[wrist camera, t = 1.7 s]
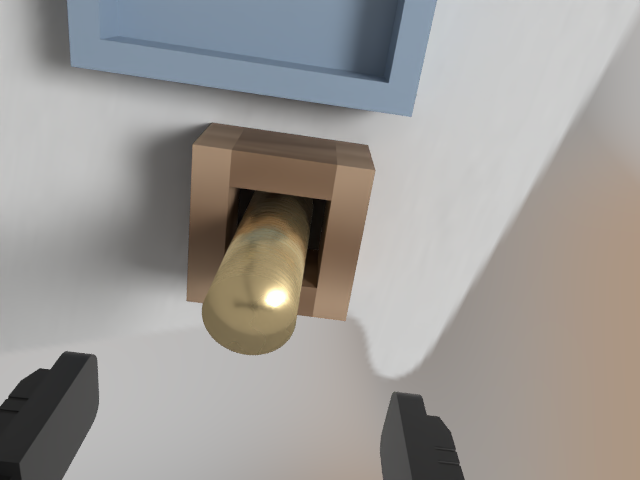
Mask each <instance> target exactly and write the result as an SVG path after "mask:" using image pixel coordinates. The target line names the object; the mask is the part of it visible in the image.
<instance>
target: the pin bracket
mask: <svg viewBox="0 0 640 480" xmlns="http://www.w3.org/2000/svg"><path fill="white" fill-rule="evenodd" d="M374 174H375V167H374V164H373V161H372V157H371V154H370V150H369V147H368V145H363V144H356V143H349V142H342V141H335V140H328V139H321V138H314V137H307V136H301V135H294V134H287V133H280V132H273V131H266V130H259V129H252V128H245V127H238V126H231V125H224V124H218V123H211V124H210V125H209V127H208V128H207V129H206V130H205V131H204V132H203V133H202V134H201V135H200V137H199V138H198V139H197V140H196V141H195V142H194V143H193V146H192V172H191V198H190V224H189V250H188V275H187V301H190V302H198V303H203V302H204V299H205V297H206V295H207V293H208V290H209V288H210V286H211V284H212V282H213V280H214V278H215V275H216V273H217V271H218V269H219V267H220V265H221V263H222V260H223V258H224V256H225V254H226V252H227V250H228V247H229V245H230V243H231V241H232V239H233V237H234V235H235V232H236V230H237V221H238V209H239V197H240V188H244V189H251V190H258V191H266V192H273V193H280V194H287V195H295V196H302V197H309V198H316V199H324V200H326V204H325V210H324V216H323V222H322V229H321V235H320V241H319V248H318V250H315V249H307V254H306V260H305V267H304V273H303V279H302V286H301V292H300V299H299V305H298V312H297V315H302V316H310V317H318V318H325V319H333V320H341V321H346V316H347V311H348V306H349V301H350V296H351V291H352V286H353V280H354V275H355V270H356V265H357V260H358V255H359V250H360V245H361V240H362V235H363V230H364V225H365V220H366V215H367V210H368V205H369V200H370V195H371V190H372V185H373V179H374Z"/></svg>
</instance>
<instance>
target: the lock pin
mask: <svg viewBox="0 0 640 480" xmlns="http://www.w3.org/2000/svg"><path fill="white" fill-rule="evenodd" d="M312 215H313V200H312V198H309V197H302V196H295V195H287V194H280V193H273V192H266V191H258V190H255V192H254V194H253V196H252V198H251V200H250V202H249V205H248V207H247V209H246V211H245V213H244V215H243V217H242V220H241V222H240V224H239V226H238V228H237V230H236V232H235V235H234V237H233V239H232V241H231V243H230V245H229V247H228V250H227V252H226V254H225V256H224V258H223V260H222V263H221V265H220V267H219V269H218V271H217V273H216V275H215V278H214V280H213V282H212V284H211V286H210V288H209V290H208V293H207V295H206V297H205V299H204V302H203V306H202V318H203V322H204V325H205V327H206V329H207V331H208V332H209V334H210V335H211V336H212V338H213V339H214V340H215V341H216V342H218V343H219V344H220V345H222V346H223V347H225V348H227V349H229V350H231V351H233V352H236V353H240V354H246V355H261V354H266V353H269V352H272V351H274V350H276V349H278V348H280V347H281V346H283V345H284V344H285V343H286V342H287V341H288V340H289V339H290V337H291V335H292V333H293V331H294V328H295V325H296V318H297V312H298V305H299V299H300V292H301V286H302V279H303V273H304V267H305V260H306V254H307V247H308V241H309V234H310V228H311V221H312Z"/></svg>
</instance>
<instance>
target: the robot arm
mask: <svg viewBox="0 0 640 480" xmlns="http://www.w3.org/2000/svg"><path fill="white" fill-rule="evenodd" d="M97 368H98V366H97V358H96V356H95V355H92V354H85V353H76V352H68V351H66V352H64V353H63V354H62V355H61V356H60V357H59V359H58V360H57V361H56V363H55V364H54V365H53V367H52V368H51V369H50V370H49V369H41V368H40V369H38V370H37V371H35V372H34V373H32V374H30V375H29V376H28V377H26V378H24V379H23V380H21V381H20V383H19V384H18V385H17V386H16V388H15V389H14V390H13V391H12V393H11V394H10V395H9V397H8V399H6V400H5V401H4V403H3V404H2V405H1V406H0V480H62V478H63V477H64V475H65V473H66V471H67V469H68V468H69V466H70V464H71V462H72V460H73V459H74V457H75V455H76V453H77V451H78V449H79V448H80V446H81V444H82V442H83V440H84V439H85V437H86V435H87V433H88V431H89V429H90V428H91V426H92V424H93V422H94V419H95V417H96V413H97V410H98V405H99V389H98V369H97ZM455 450H456V448H455V445H454V441H453V438H452V435H451V432H450V430H449V429H448V428H447V427H446V425H445V424H444V423H443V421H442V420H441V419H440V417H437V416H429V415H427V414H426V411H425V407H424V402H423V398H422V396H421V395H418V394H408V393H400V392H393V394H392V396H391V400H390V404H389V407H388V411H387V415H386V419H385V423H384V427H383V431H382V435H381V443H380V456H381V465H382V474H383V480H465V479H464V476H463V472H462V469H461V466H459V463H460V462H459V459H458V456H457V452H456V451H455Z"/></svg>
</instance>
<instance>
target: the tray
mask: <svg viewBox="0 0 640 480" xmlns="http://www.w3.org/2000/svg"><path fill="white" fill-rule="evenodd" d="M436 2H437V0H67V9H68V26H69V42H70V59H71V66H72V67H78V68H85V69H92V70H99V71H105V72H112V73H119V74H126V75H132V76H139V77H146V78H153V79H159V80H166V81H173V82H180V83H186V84H193V85H200V86H206V87H213V88H220V89H227V90H233V91H240V92H247V93H254V94H260V95H267V96H274V97H281V98H287V99H294V100H301V101H308V102H314V103H321V104H328V105H335V106H341V107H348V108H355V109H362V110H368V111H375V112H382V113H389V114H395V115H402V116H409V117H411V116H412V112H413V107H414V103H415V98H416V93H417V89H418V84H419V80H420V75H421V71H422V66H423V62H424V57H425V52H426V48H427V43H428V39H429V34H430V30H431V25H432V20H433V16H434V11H435V7H436Z"/></svg>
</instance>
